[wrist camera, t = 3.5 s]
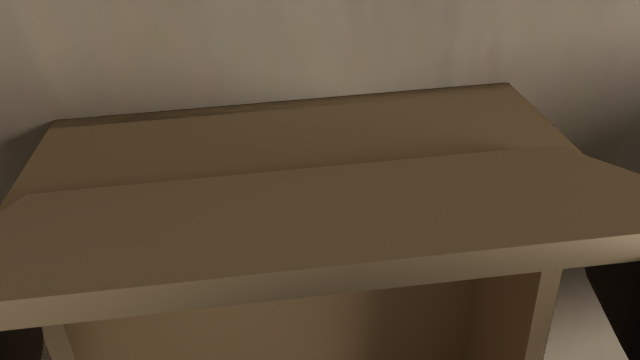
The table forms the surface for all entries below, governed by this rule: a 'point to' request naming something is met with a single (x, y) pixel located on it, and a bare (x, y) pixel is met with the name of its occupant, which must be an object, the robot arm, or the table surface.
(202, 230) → the flap
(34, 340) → the robot arm
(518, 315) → the carton
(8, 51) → the table surface
